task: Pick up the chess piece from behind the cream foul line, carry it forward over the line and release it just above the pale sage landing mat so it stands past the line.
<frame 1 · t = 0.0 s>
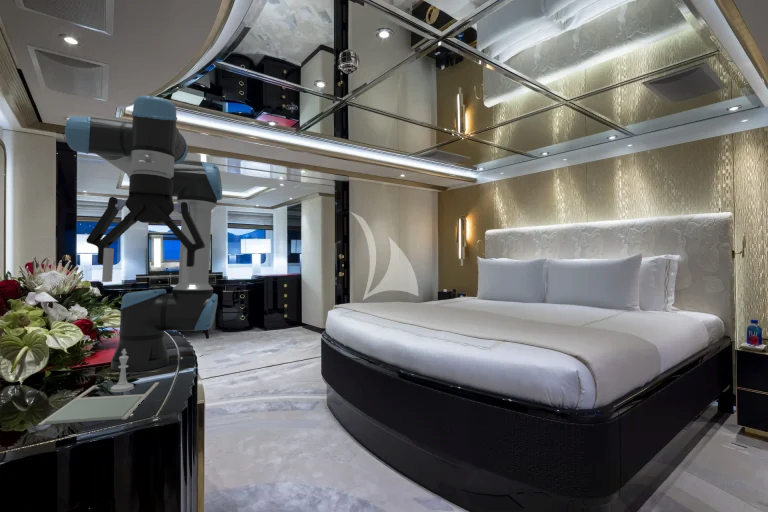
hand: (146, 282, 77), 28 cm above the table, fingers open, 13 cm apart
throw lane: (108, 401, 88), on the table
chess piece: (122, 390, 97), on the table
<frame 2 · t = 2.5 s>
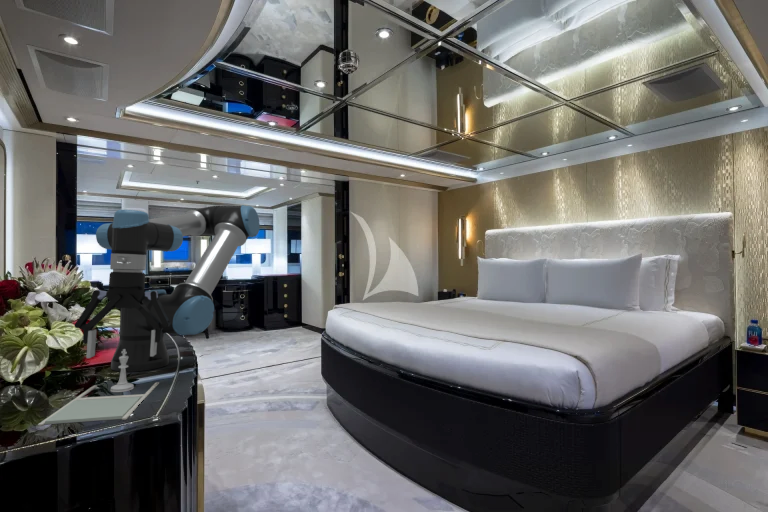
hand: (122, 356, 97), 8 cm above the table, fingers open, 13 cm apart
nothing on the table moved.
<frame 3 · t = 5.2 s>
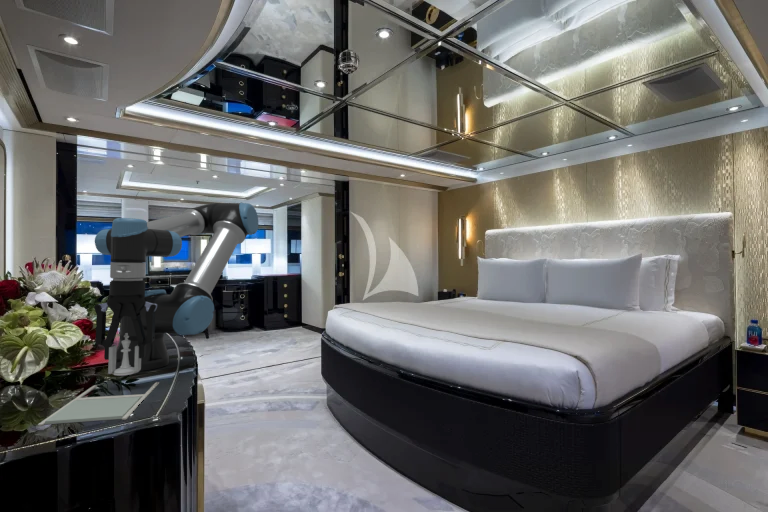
hand: (124, 371, 98), 4 cm above the table, fingers closed on chess piece, 5 cm apart
chess piece: (125, 373, 98), point 4 cm above the table, touching gripper
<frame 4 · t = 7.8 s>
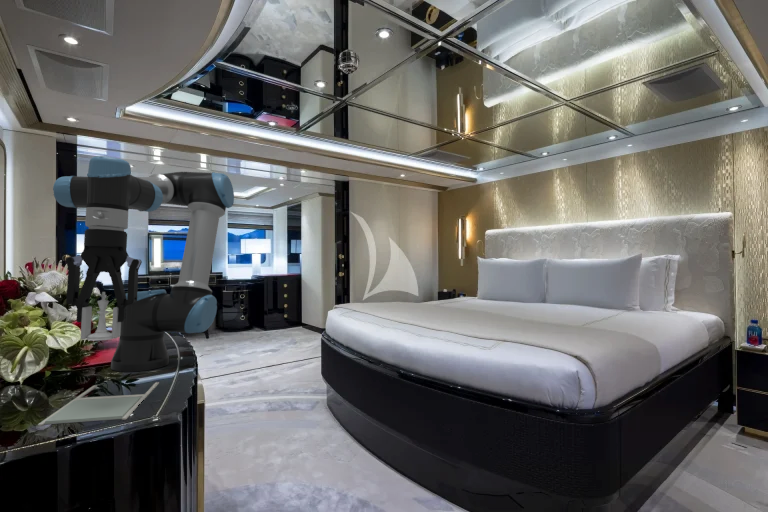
hand: (100, 337, 83), 16 cm above the table, fingers closed on chess piece, 5 cm apart
chess piece: (101, 339, 83), point 15 cm above the table, touching gripper
when the fingers open (2 cm above the table, at t = 10.8 s): chess piece stays where it is, resting on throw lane.
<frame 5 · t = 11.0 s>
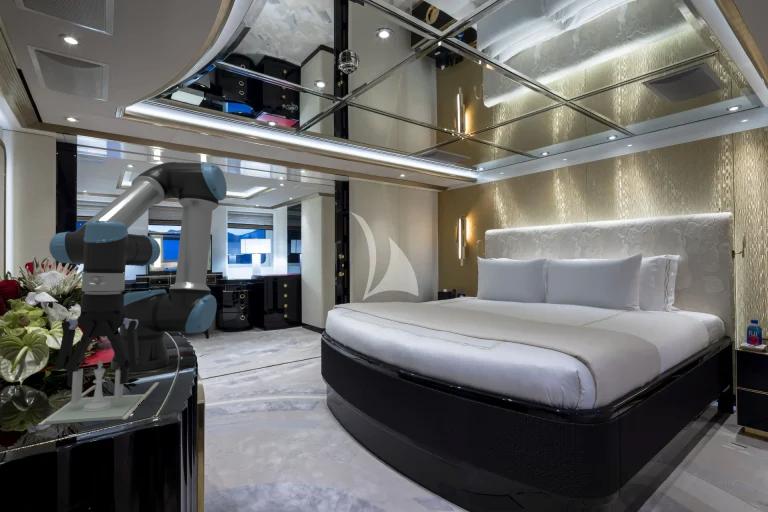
hand: (97, 400, 83), 2 cm above the table, fingers open, 7 cm apart
chess piece: (97, 408, 83), resting on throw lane
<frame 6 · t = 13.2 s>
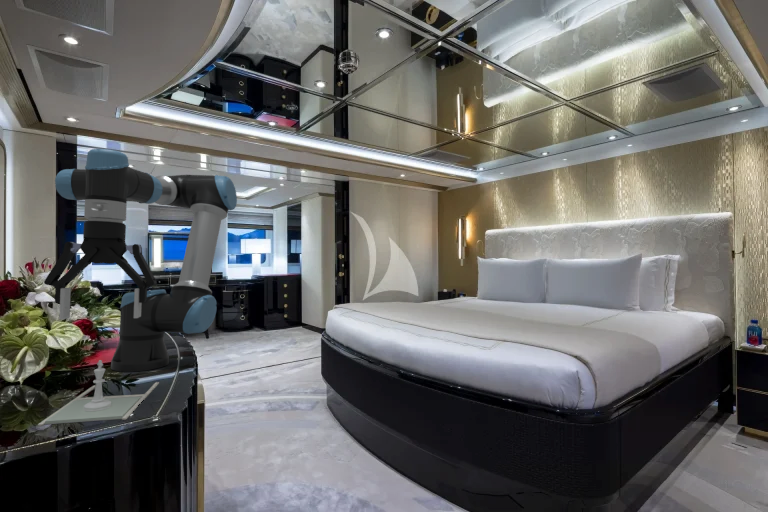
hand: (101, 318, 85), 19 cm above the table, fingers open, 13 cm apart
nothing on the table moved.
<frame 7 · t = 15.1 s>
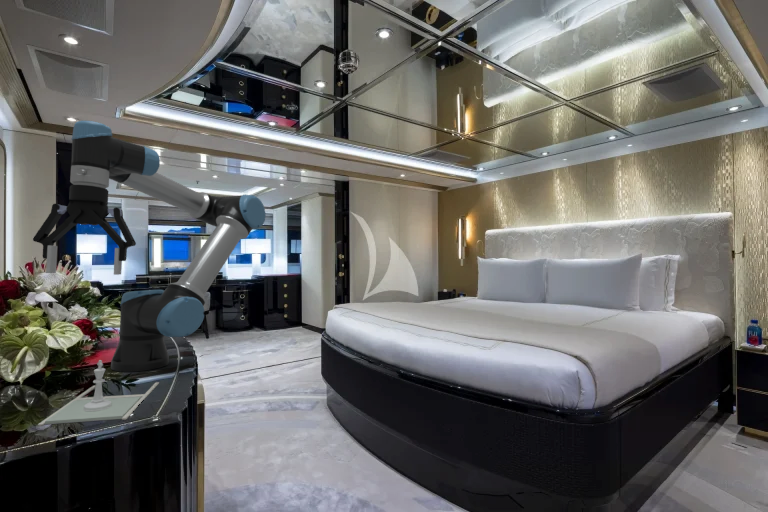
hand: (84, 274, 94), 29 cm above the table, fingers open, 13 cm apart
nothing on the table moved.
at the end: chess piece inside the target area (0.7 cm from its centre), resting on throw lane; chess piece tilted 0°; the gripper is holding nothing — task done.
